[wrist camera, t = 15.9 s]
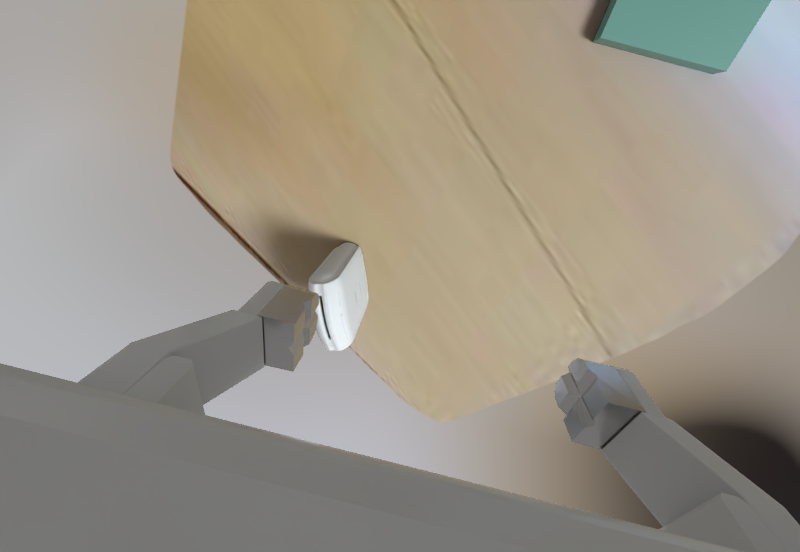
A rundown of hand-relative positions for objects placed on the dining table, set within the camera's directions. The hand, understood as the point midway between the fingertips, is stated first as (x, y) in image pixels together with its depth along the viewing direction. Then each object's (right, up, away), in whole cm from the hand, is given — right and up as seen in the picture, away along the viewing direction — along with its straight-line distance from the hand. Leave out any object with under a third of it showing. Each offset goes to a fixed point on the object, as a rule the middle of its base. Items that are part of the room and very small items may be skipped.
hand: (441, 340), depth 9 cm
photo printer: (-8, +2, +34) cm, 35 cm away
